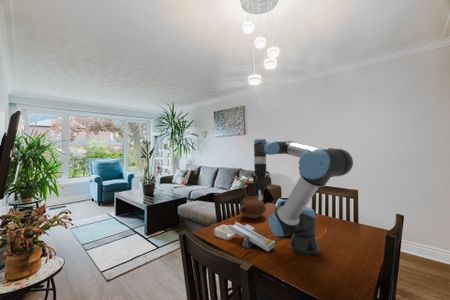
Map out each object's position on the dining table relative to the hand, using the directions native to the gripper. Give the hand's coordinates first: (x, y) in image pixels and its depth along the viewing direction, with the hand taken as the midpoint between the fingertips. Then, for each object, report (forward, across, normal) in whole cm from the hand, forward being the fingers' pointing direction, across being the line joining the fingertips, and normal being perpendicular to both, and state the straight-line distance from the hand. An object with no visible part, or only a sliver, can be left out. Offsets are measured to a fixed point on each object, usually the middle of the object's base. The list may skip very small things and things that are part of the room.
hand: (260, 199), depth 129 cm
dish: (+24, +19, +13) cm, 34 cm away
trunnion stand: (+24, -1, +13) cm, 27 cm away
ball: (+19, -12, +12) cm, 26 cm away
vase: (+25, +23, -24) cm, 41 cm away
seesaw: (+20, 0, +10) cm, 22 cm away
